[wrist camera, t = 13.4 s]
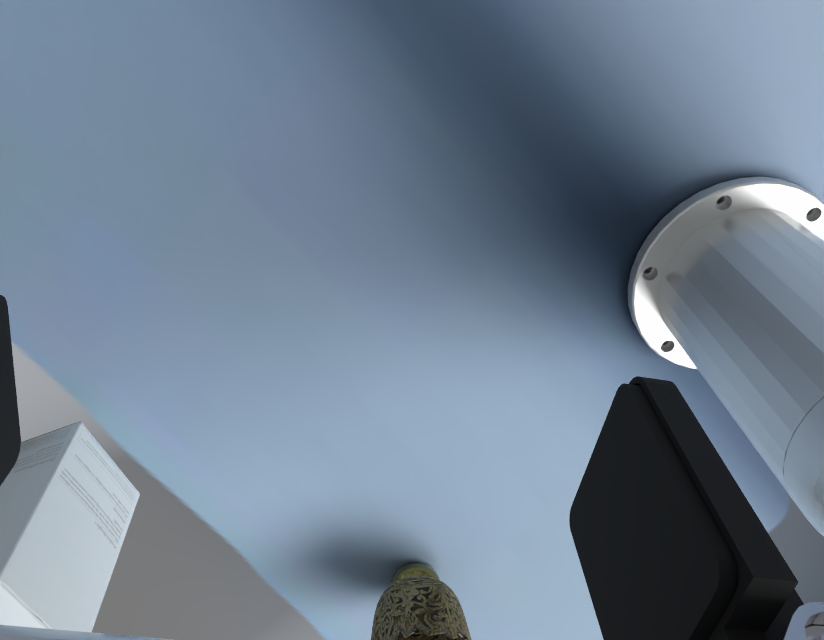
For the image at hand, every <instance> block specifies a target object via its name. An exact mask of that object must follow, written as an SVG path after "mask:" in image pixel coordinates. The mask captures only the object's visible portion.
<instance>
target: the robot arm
mask: <svg viewBox="0 0 824 640" xmlns="http://www.w3.org/2000/svg"><path fill="white" fill-rule="evenodd" d="M719 198H720V199H719ZM718 199H719V200H718ZM647 268H648V269H647ZM645 269H646V270H645ZM628 306H629V310H630V314H631V317H632V321H633V322H634V324H635V326H636V328H637V330H638V332H639V333H640V335H641V336H642V338H643V339H644V340H645V342H646V343H647V344H648V346H649V347H650V348H651V349H652V350H653V351H654V352H656V353H657V354H658V355H659V356H661V357H663V358H664V359H666V360H668V361H670V362H672V363H674V364H677V365H680V366H684V367H687V368H691V369H698V371H699V372H700V373H701V375H702V376H703V377H704V379H705V380H706V382H707V383H708V384H709V386H710V387H711V388H712V390H713V391H714V393H715V394H716V395H717V397H718V398H719V399H720V401H721V402H722V403H723V405H724V406H725V408H726V409H727V410H728V412H729V413H730V414H731V416H732V417H733V419H734V420H735V421H736V423H737V424H738V425H739V427H740V428H741V429H742V431H743V432H744V434H745V435H746V436H747V438H748V439H749V440H750V442H751V443H752V445H753V446H754V447H755V449H756V450H757V451H758V453H759V454H760V455H761V457H762V458H763V460H764V461H765V462H766V464H767V465H768V466H769V468H770V469H771V470H772V472H773V473H774V475H775V476H776V477H777V479H778V480H779V481H780V483H781V484H782V486H783V487H784V488H785V490H786V491H787V492H788V494H789V495H790V496H791V498H792V499H793V501H794V502H795V503H796V504H797V506H798V507H799V509H800V510H801V511H802V513H803V514H804V515H805V517H806V518H807V519H808V520H809V522H810V523H811V524H812V525H813V526H814V527H815V528H816V529H817V531H818V532H819V533H821V534H822V535H823V536H824V203H823V202H822V201H821V200H819V199H818V198H817V197H816V196H815V195H814V194H812V193H810V192H809V191H807V190H805V189H804V188H802V187H801V186H799V185H796V184H793V183H791V182H788V181H785V180H783V179H776V178H769V177H746V178H738V179H734V180H730V181H726V182H722V183H719V184H716V185H714V186H712V187H709V188H707V189H704V190H702V191H700V192H698V193H696V194H695V195H693V196H691V197H690V198H688V199H687V200H685V201H683V202H682V203H680V204H679V205H678V206H677V207H675V208H674V209H673V210H672V211H671V212H669V213H668V214H667V215H666V216H665V217H664V218H663V219H662V220H661V221H660V222H659V223H658V224H657V226H656V227H655V228H654V229H653V230H652V231H651V232H650V234H649V235H648V237H647V238H646V240H645V242H644V243H643V245H642V246H641V248H640V250H639V251H638V253H637V256H636V259H635V261H634V264H633V266H632V269H631V273H630V278H629V283H628ZM20 447H21V437H20V427H19V417H18V408H17V396H16V386H15V376H14V367H13V356H12V346H11V335H10V325H9V315H8V306H7V301H6V299H5V297H3V296H2V295H0V486H1V485H2V483H3V482H4V480H5V479H6V477H7V476H8V474H9V473H10V471H11V470H12V468H13V467H14V465H15V463H16V461H17V459H18V456H19V452H20ZM570 529H571V533H572V536H573V540H574V543H575V546H576V550H577V553H578V556H579V559H580V563H581V566H582V569H583V573H584V576H585V579H586V583H587V586H588V589H589V592H590V596H591V599H592V602H593V606H594V609H595V612H596V616H597V619H598V622H599V625H600V629H601V632H602V635H603V639H604V640H824V603H820V602H810V603H807V604H805V605H804V604H803V602H802V601H801V599H800V597H799V596H798V594H797V592H796V591H795V589H794V588H795V587H796V585H797V583H798V581H797V579H796V578H795V576H794V575H793V573H792V571H791V570H790V568H789V566H788V565H787V563H786V562H785V560H784V558H783V557H782V556H781V554H780V552H779V551H778V549H777V547H776V546H775V544H774V542H773V541H772V539H771V538H770V536H769V534H768V533H767V531H766V530H765V528H764V526H763V525H762V523H761V522H760V520H759V518H758V517H757V515H756V514H755V512H754V510H753V509H752V507H751V505H750V504H749V502H748V501H747V499H746V497H745V496H744V494H743V493H742V491H741V489H740V488H739V486H738V485H737V483H736V481H735V480H734V478H733V477H732V475H731V473H730V472H729V470H728V469H727V467H726V465H725V464H724V462H723V461H722V459H721V457H720V456H719V454H718V453H717V451H716V449H715V448H714V446H713V445H712V443H711V441H710V440H709V438H708V437H707V435H706V433H705V432H704V430H703V429H702V427H701V425H700V424H699V422H698V420H697V419H696V417H695V416H694V414H693V412H692V411H691V409H690V408H689V406H688V404H687V403H686V401H685V400H684V398H683V396H682V395H681V393H680V392H679V390H678V388H677V387H676V385H675V384H674V383H673V382H671V381H666V380H659V379H652V378H645V377H638V376H637V377H635V378H633V379H632V380H631V381H630V383H629V384H622V385H621V386H620V387H619V388H618V390H617V392H616V395H615V397H614V400H613V402H612V405H611V407H610V410H609V412H608V415H607V417H606V420H605V422H604V425H603V428H602V430H601V433H600V435H599V438H598V440H597V443H596V445H595V448H594V450H593V453H592V456H591V458H590V461H589V463H588V466H587V468H586V471H585V473H584V476H583V478H582V481H581V484H580V486H579V489H578V491H577V494H576V496H575V499H574V501H573V504H572V507H571V511H570ZM0 640H174V639H162V638H151V637H139V636H127V635H115V634H103V633H92V632H80V631H68V630H56V629H44V628H33V627H21V626H9V625H0Z"/></svg>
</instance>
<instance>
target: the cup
mask: <svg viewBox="0 0 824 640" xmlns="http://www.w3.org/2000/svg"><path fill="white" fill-rule="evenodd" d="M371 640H471V637H470V633H469V630H468V626H467V623H466V620H465V616H464V613H463V610H462V608H461V605H460V603H459V601H458V599H457V597H456V595H455V594H454V592H453V591H452V590H451V589H450V588H449V587H448V586H447V585H446V584H445V583H443V582H442V581H440V580H439V577H438V575H437V574H436V572H435V571H434V570H433V569H432V568H431V567H430V566H428V565H426V564H422V563H411V564H407V565H405V566H403V567H401V568H400V569H399V570H398V571H397V572H396V573H395V575H394V577H393V579H392V583H391V586H390V587H388V588H387V589H386V591H385V592H384V593H383V595H382V596H381V598H380V600H379V602H378V604H377V607H376V611H375V615H374V621H373V628H372V637H371Z"/></svg>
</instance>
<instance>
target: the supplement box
mask: <svg viewBox="0 0 824 640" xmlns="http://www.w3.org/2000/svg"><path fill="white" fill-rule="evenodd" d="M139 495H140V493H139V492H138V491H137V490H136V488H134V486H133V485H132V484H131V482H130V481H129V480H128V479H127V477H126V476H125V475H124V474H123V473H122V471H121V470H120V469H119V468H118V466H117V465H116V464H115V463H114V461H113V460H112V459H111V458H110V456H109V455H108V454H107V453H106V452H105V450H104V449H103V448H102V447H101V445H100V444H99V443H98V442H97V440H96V439H95V438H94V437H93V435H92V434H91V433H90V432H89V430H88V429H87V428H86V427H85V425H84V424H83V423H82V422H78V423H74V424H72V425H69V426H66V427H63V428H60V429H57V430H55V431H52V432H49V433H46V434H43V435H41V436H38V437H35V438H32V439H29V440H26V441H24V442H21V447H20V452H19V456H18V459H17V461H16V463H15V465H14V467H13V468H12V470H11V471H10V473H9V474H8V476H7V477H6V479H5V480H4V482H3V483H2V485H1V486H0V625H9V626H21V627H33V628H44V629H56V630H68V631H80V632H91V631H92V629H93V626H94V623H95V620H96V617H97V614H98V611H99V609H100V606H101V603H102V600H103V597H104V594H105V592H106V589H107V586H108V584H109V581H110V578H111V575H112V572H113V569H114V566H115V564H116V560H117V558H118V555H119V553H120V549H121V546H122V544H123V541H124V538H125V535H126V532H127V530H128V527H129V523H130V521H131V518H132V515H133V512H134V509H135V507H136V504H137V501H138V498H139Z"/></svg>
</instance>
